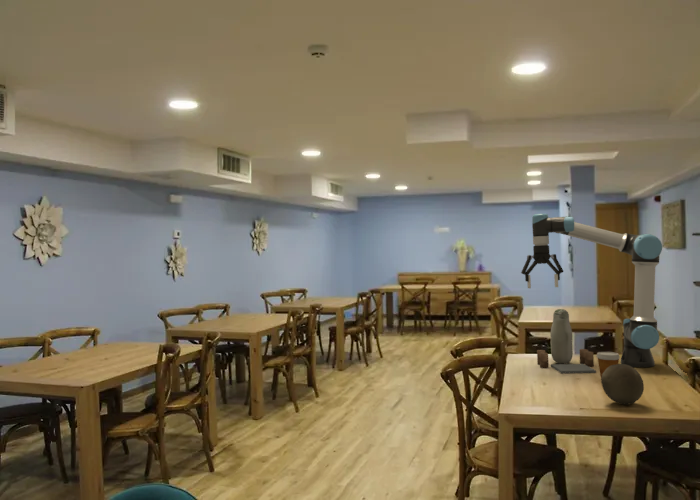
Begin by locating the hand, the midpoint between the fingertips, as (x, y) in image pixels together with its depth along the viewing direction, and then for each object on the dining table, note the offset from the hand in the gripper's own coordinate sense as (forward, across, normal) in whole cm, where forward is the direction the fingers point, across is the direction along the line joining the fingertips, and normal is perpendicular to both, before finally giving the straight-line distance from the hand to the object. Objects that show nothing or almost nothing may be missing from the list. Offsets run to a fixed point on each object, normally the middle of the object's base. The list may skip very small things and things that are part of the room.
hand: (542, 287), depth 285 cm
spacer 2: (+40, +1, -1) cm, 40 cm away
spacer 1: (+40, -1, -9) cm, 41 cm away
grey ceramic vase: (+40, -11, -8) cm, 42 cm away
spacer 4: (+40, -22, -1) cm, 46 cm away
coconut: (+40, -4, +70) cm, 81 cm away
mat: (+40, -11, +6) cm, 42 cm away
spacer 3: (+40, -22, -8) cm, 46 cm away
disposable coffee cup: (+40, -17, +31) cm, 54 cm away
